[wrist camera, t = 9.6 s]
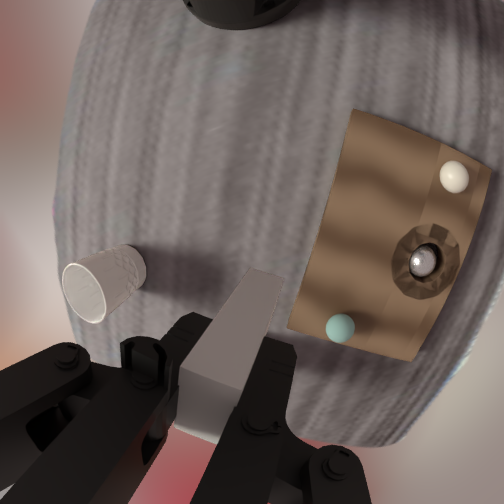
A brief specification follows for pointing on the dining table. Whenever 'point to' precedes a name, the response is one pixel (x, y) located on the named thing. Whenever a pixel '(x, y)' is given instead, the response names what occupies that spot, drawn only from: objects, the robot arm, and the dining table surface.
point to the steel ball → (422, 261)
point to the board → (388, 238)
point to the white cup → (103, 281)
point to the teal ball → (340, 328)
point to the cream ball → (454, 177)
